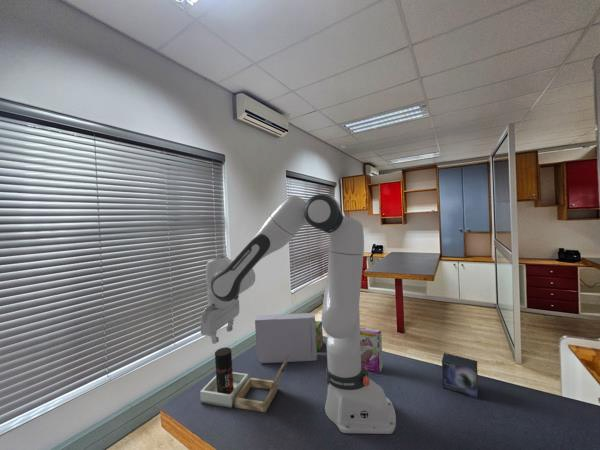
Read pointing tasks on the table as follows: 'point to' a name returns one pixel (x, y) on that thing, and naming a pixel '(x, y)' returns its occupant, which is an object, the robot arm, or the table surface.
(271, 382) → the frame
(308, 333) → the game console
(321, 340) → the chalk box
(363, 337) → the candy bar box
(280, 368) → the beige flat board
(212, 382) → the tray
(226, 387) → the deodorant
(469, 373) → the small box
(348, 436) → the table surface
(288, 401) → the table surface
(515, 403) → the table surface
